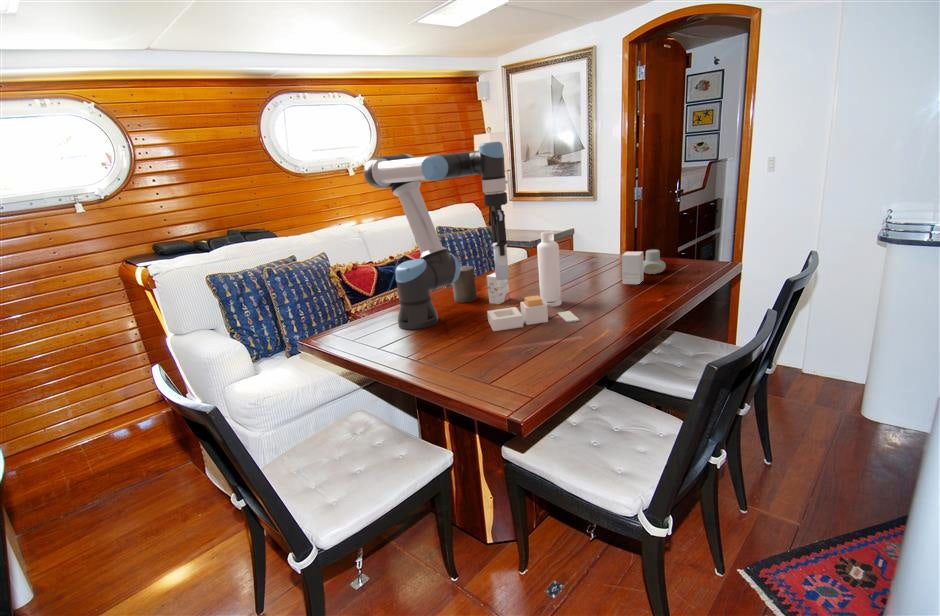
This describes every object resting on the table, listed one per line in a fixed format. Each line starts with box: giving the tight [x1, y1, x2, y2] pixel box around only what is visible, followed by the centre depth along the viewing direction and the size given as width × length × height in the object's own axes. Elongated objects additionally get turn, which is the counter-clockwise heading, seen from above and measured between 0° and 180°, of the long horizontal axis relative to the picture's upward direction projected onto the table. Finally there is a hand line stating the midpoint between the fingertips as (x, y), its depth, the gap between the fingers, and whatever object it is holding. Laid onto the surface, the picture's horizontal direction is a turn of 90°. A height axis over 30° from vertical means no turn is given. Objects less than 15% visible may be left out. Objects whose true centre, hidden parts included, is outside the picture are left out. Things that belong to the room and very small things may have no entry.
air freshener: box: [643, 249, 667, 275], centre depth 213 cm, size 11×8×10 cm
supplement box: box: [621, 251, 644, 285], centre depth 202 cm, size 7×7×13 cm
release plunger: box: [523, 295, 542, 307], centre depth 168 cm, size 5×5×8 cm
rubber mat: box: [557, 310, 580, 323], centre depth 170 cm, size 10×10×1 cm
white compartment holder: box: [486, 300, 549, 332], centre depth 168 cm, size 20×10×7 cm, turn 98°
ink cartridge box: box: [486, 272, 510, 305], centre depth 196 cm, size 9×5×15 cm, turn 143°
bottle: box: [536, 230, 562, 308], centre depth 183 cm, size 8×8×28 cm
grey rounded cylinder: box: [491, 242, 510, 280], centre depth 161 cm, size 5×5×12 cm
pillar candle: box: [452, 265, 478, 304], centre depth 203 cm, size 10×10×15 cm
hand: (501, 263), depth 161 cm, fingers closed on grey rounded cylinder, 5 cm apart
